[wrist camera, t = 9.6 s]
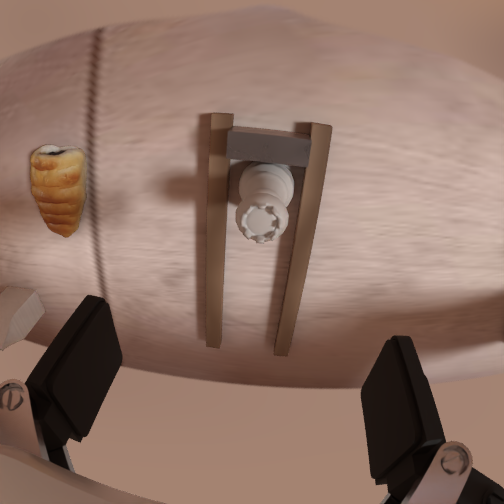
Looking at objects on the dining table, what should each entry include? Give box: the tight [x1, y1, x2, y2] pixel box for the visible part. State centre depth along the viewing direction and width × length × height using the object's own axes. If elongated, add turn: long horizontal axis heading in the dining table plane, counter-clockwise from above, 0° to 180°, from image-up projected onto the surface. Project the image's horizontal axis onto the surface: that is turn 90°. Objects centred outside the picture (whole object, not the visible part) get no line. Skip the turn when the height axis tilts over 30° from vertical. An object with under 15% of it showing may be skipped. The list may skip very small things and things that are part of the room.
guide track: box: [206, 113, 332, 356], centre depth 28 cm, size 9×24×1 cm, turn 175°
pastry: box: [30, 145, 87, 237], centre depth 25 cm, size 9×7×4 cm
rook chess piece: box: [236, 161, 294, 243], centre depth 22 cm, size 4×4×8 cm
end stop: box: [226, 126, 312, 168], centre depth 22 cm, size 6×2×3 cm, turn 85°
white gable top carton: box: [0, 286, 46, 351], centre depth 31 cm, size 4×7×10 cm, turn 92°
